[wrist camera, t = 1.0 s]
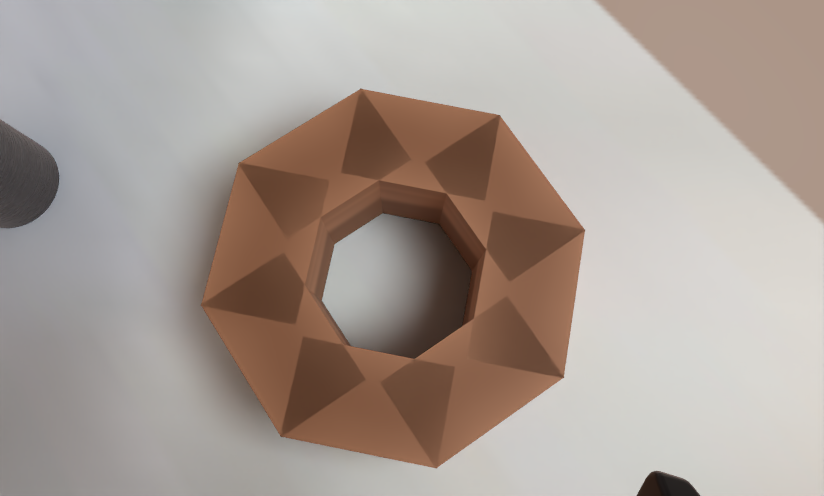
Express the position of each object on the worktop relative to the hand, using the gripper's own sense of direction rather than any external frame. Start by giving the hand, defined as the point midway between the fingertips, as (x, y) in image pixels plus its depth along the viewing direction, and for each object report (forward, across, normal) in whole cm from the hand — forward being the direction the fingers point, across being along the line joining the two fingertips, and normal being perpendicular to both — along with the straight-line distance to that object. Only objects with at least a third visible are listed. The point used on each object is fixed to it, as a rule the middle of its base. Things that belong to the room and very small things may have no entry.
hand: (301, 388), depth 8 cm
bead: (+14, 0, +6) cm, 15 cm away
